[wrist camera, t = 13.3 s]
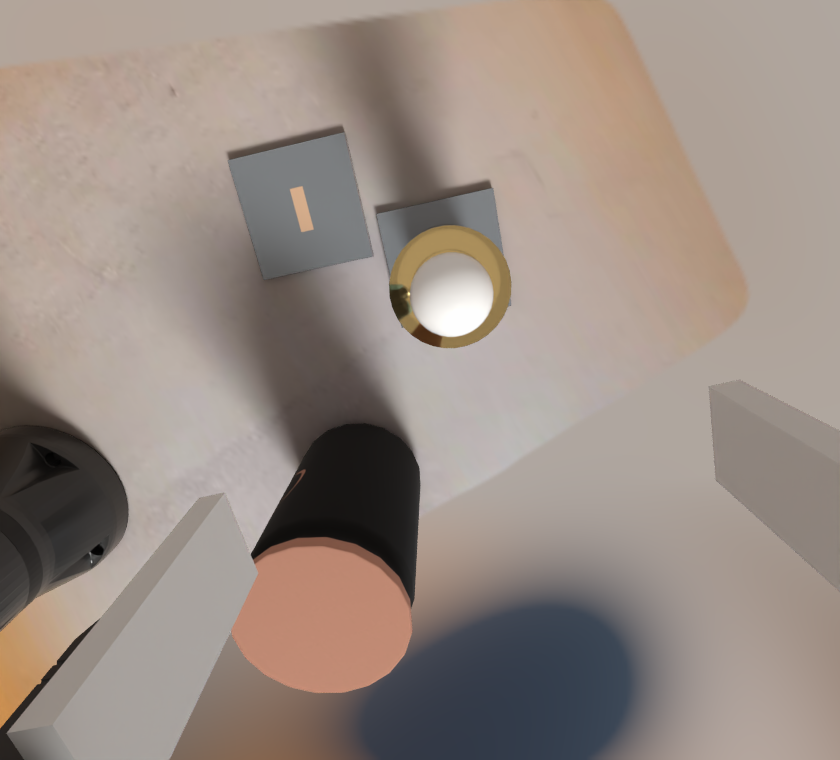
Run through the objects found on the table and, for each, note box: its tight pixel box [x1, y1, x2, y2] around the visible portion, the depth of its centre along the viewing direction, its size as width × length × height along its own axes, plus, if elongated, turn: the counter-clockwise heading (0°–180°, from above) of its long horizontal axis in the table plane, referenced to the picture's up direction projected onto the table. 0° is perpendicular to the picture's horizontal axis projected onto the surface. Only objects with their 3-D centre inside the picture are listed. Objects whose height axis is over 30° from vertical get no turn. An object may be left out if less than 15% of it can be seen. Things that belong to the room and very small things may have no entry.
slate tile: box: [228, 132, 374, 280], centre depth 38 cm, size 9×9×1 cm
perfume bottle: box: [389, 224, 511, 348], centre depth 29 cm, size 6×6×20 cm
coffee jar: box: [231, 424, 420, 693], centre depth 37 cm, size 11×11×18 cm
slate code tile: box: [376, 188, 511, 328], centre depth 39 cm, size 9×9×1 cm
